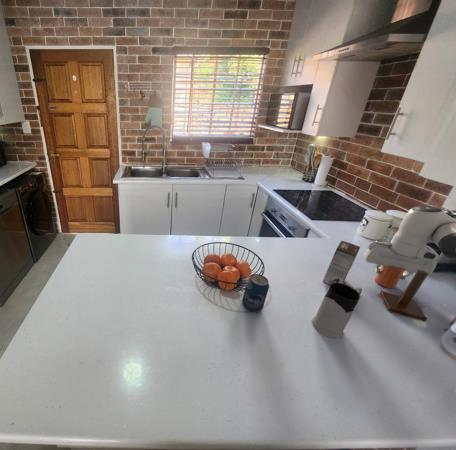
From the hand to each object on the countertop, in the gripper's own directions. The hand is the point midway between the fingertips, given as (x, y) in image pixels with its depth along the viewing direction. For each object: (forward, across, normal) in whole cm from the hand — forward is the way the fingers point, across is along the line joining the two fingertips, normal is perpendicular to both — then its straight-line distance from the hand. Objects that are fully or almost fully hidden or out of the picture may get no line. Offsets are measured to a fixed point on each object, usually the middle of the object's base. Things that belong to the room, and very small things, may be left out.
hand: (389, 275), depth 99 cm
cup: (+4, 0, 0) cm, 4 cm away
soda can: (+4, -48, -39) cm, 62 cm away
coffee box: (+4, -19, -8) cm, 21 cm away
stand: (+4, +1, -14) cm, 15 cm away
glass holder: (+4, -23, -35) cm, 42 cm away
